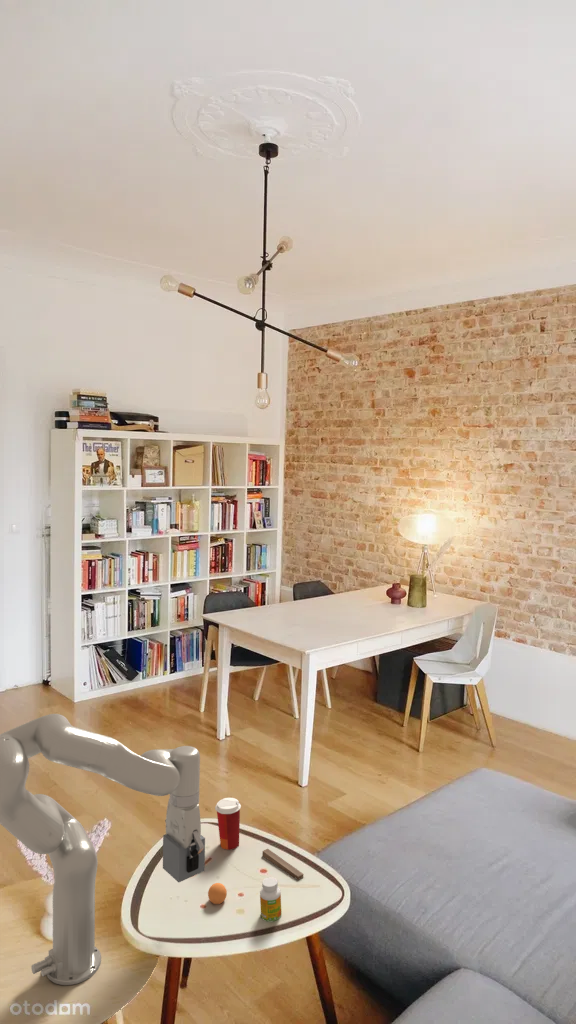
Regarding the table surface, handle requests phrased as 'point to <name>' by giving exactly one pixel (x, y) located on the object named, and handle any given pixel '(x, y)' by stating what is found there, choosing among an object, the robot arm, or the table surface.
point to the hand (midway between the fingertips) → (183, 862)
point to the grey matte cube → (180, 859)
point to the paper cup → (228, 822)
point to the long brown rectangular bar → (282, 864)
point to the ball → (217, 893)
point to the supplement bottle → (270, 900)
